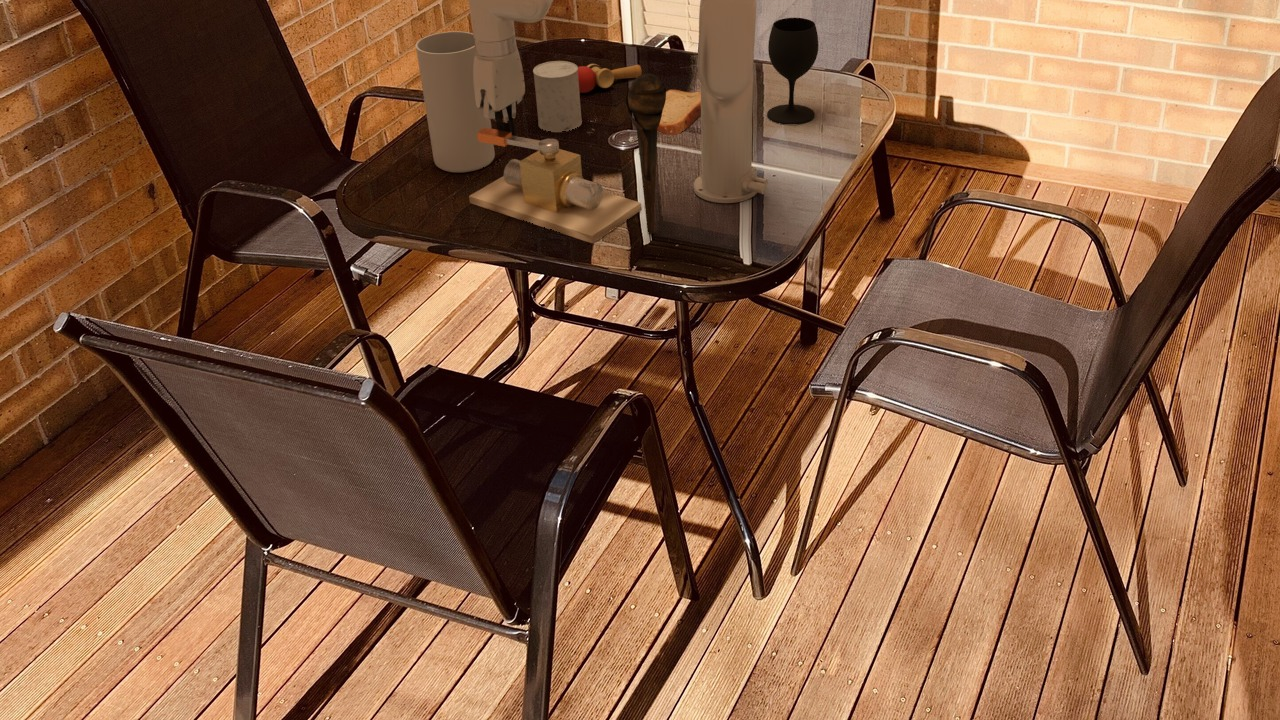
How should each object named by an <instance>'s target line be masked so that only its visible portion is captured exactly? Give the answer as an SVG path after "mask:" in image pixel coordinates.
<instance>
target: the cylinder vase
mask: <svg viewBox="0 0 1280 720" xmlns="http://www.w3.org/2000/svg"><path fill="white" fill-rule="evenodd" d="M415 48H416V49H415V50H416V56H417V62H418V63H417V64H418V68H419V69H418V70H419V76H420V82H421V83H420V84H421V88H422V94H423V99H424V100H423V101H424V106H425V113H426V119H427V120H426V121H427V124H428V133H429V139H430V144H431V149H432V157H433V158H432V159H433V162H434V165H435V166H436V167H437V168H439V169H440V170H443V171H444V172H448V173H459V174H460V173H461V174H462V173H469V172H474V171H478V170H480V169H483V167H484V168H485V167H488V166H489V165H490V164H491V163H492V162H493V161H494V159H495V157H496V156H495V155H496V153H495V147H494V146H495V145H494V144H488V143H483V142H478V137H477V132H479V131H480V130H482V129H483V128H491V129H493V128H492V121H491V120H492V119H486V118H484V108H481V109H479V108H477V106H476V102H475V94H474V79H473V66H474V57H476V51H475V44H474V36H473V32H468V31H458V30H457V31H455V30H454V31H444V32H443V31H442V32H438V33H433V34H429V35H427V36H425V37H422V38H420V39H419V40H418V41H417V42H415Z"/></svg>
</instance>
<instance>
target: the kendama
mask: <svg viewBox="0 0 1280 720" xmlns="http://www.w3.org/2000/svg"><path fill="white" fill-rule="evenodd" d="M577 67H578V81H579V94H587V93H589V92H591V91H592V90H594V89H595V88H596V87H600V88H602V89H607V88H610V87H612V85H613V84H614V81H615V79H617V80H618V79H619V80H620V79H636V78H637V77H639V76H640V75H642V73H643V72H642V67H641V65H640V64H634V65H631V66H625V67H619V68H615V69H612V70H611V69H609V68H605V67H604V68H602V67H601V66H600V65H598V64H596V63H589V64H588V65H587V66H584V65H582V66H577Z"/></svg>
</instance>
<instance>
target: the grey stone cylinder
mask: <svg viewBox="0 0 1280 720" xmlns="http://www.w3.org/2000/svg"><path fill="white" fill-rule="evenodd" d="M578 67H579V66H578V65H577V64H575V63H573V62H570V61H566V60H554V61H553V60H552V61H547V62H543V63H539V64H537V65H536V66H534V68H533V70H532V74H533V78H534V81H533V82H534V88H535V100H536V110H537V111H536V112H537V120H538V128H540V129H541V130H542V129H543V131H545V130H546V132H548V131H551V133H563V132H562V131H566V132H570V131H573V130H572V129H574V130H575V128H576V129H578V128H579V127H581V126H582V124H583V123H582V122H583V120H582V111H581V97H580V96H581V95H580V94H581V93H579V81H578ZM577 127H578V128H577ZM569 130H570V131H569Z"/></svg>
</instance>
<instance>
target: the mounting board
mask: <svg viewBox="0 0 1280 720" xmlns="http://www.w3.org/2000/svg"><path fill="white" fill-rule="evenodd" d="M468 199H469V203H470V204H472V205H475V206H478V207H481V208H484V209H487V210H490V211H493V212H496V213H498V214H502V215H505V216H508V217H511V218H515V219H517V220H520V221H523V220H524V221H523V222H526V221H527V222H526V223H529V222H530V223H529V224H532V223H533V224H532V225H536V226H538V227H541V228H544V227H545V229H547V230H550V229H552V230H551V231H553V230H554V232H556V231H557V233H559V232H560V233H559V234H563V235H566V236H569V237H572V238H574V239H578V240H580V241H583V242H587V243H590V244H594V243H595V242H597V241H598V240H600V239H601V238H603V237H605V234H606V235H607V234H609V233H610V232H611V231H613V230H614V229H616V228H617V227H619V226H620V225H622V224H623V223H625V222H627V221H628V220H629V219H630V218H632V217H634V216H635V215H637V214H638V213H639V212H641V211H642V202H640V201H637V200H633V199H629V198H626V197H623V196H619V195H616V194H613V193H610V192H606V191H603V196H602V200H601V203H600V204H599V206H598V207H597V208H596V209H594V210H589V209H586V208H583V207H580V206H575V207H566V208H564V209H563V210H561V211H559V212H558V213H555V212H552V211H549V210H546V209H543V208H539V207H536V206H533V205H530V204H527V203H524V196H523V190H522V188H519V187H515V186H512V185H509V184H507V183H506V182H505V180H504V175H503V176H501V177H499V178H497V179H496V180H494V181H492V182H491V183H489V184H487V185H486V186H484V187H482V188H481V189H479V190H476V191H475V192H473V193H472V194H470V195H469V196H468ZM627 219H628V220H627ZM624 221H625V222H624ZM621 223H622V224H621ZM619 224H620V225H619ZM618 225H619V226H618ZM615 227H616V228H615ZM613 228H614V229H613ZM612 229H613V230H612ZM610 230H611V231H610ZM609 231H610V232H609ZM608 232H609V233H608Z"/></svg>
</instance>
